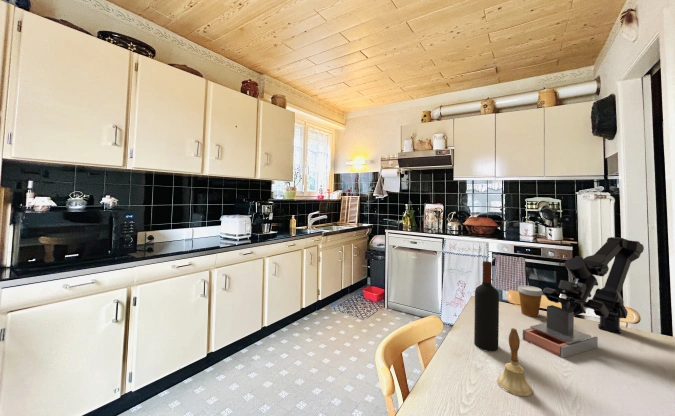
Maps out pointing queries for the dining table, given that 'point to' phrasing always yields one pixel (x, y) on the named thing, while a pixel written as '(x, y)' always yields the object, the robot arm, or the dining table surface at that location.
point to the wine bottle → (486, 312)
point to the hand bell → (514, 370)
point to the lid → (560, 326)
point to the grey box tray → (558, 343)
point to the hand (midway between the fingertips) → (562, 319)
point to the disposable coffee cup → (530, 300)
